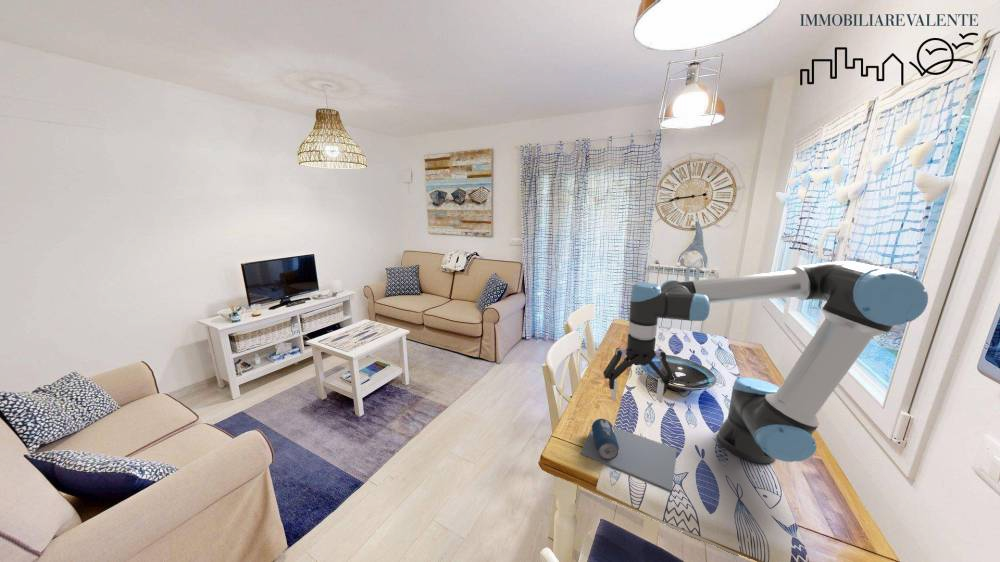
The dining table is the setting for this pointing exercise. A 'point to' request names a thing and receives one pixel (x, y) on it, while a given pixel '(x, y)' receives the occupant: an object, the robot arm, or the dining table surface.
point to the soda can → (605, 439)
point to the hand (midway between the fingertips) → (636, 398)
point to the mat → (638, 458)
